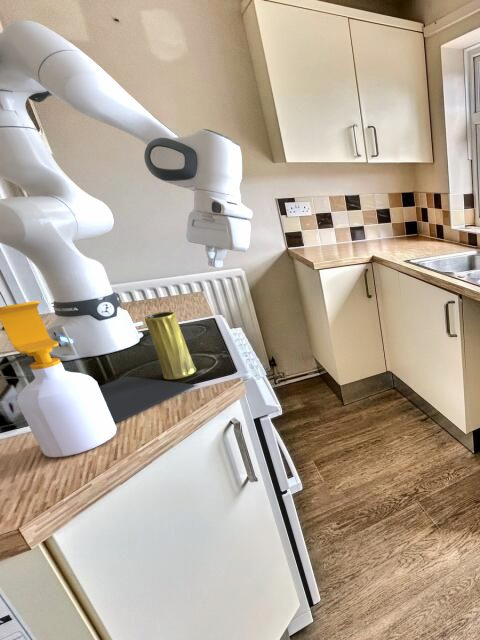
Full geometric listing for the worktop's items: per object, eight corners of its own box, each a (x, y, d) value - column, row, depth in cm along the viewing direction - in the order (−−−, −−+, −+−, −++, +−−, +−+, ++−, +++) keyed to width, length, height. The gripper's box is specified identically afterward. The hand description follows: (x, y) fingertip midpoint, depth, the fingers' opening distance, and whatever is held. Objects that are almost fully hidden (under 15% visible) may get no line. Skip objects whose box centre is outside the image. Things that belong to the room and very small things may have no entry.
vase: (160, 382, 92) (138, 321, 87) (167, 372, 97) (146, 313, 92) (194, 376, 95) (174, 316, 90) (198, 366, 100) (179, 309, 95)
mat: (43, 410, 82) (42, 408, 82) (126, 377, 95) (125, 375, 95) (117, 422, 77) (116, 421, 77) (194, 386, 90) (193, 384, 90)
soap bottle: (53, 465, 65) (-24, 314, 57) (37, 448, 70) (-37, 306, 61) (125, 436, 72) (67, 298, 64) (106, 422, 77) (49, 292, 68)
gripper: (178, 201, 99) (177, 260, 102) (227, 206, 90) (224, 271, 92) (208, 206, 105) (206, 262, 107) (257, 212, 96) (253, 273, 98)
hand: (215, 266), depth 100 cm, fingers closed
